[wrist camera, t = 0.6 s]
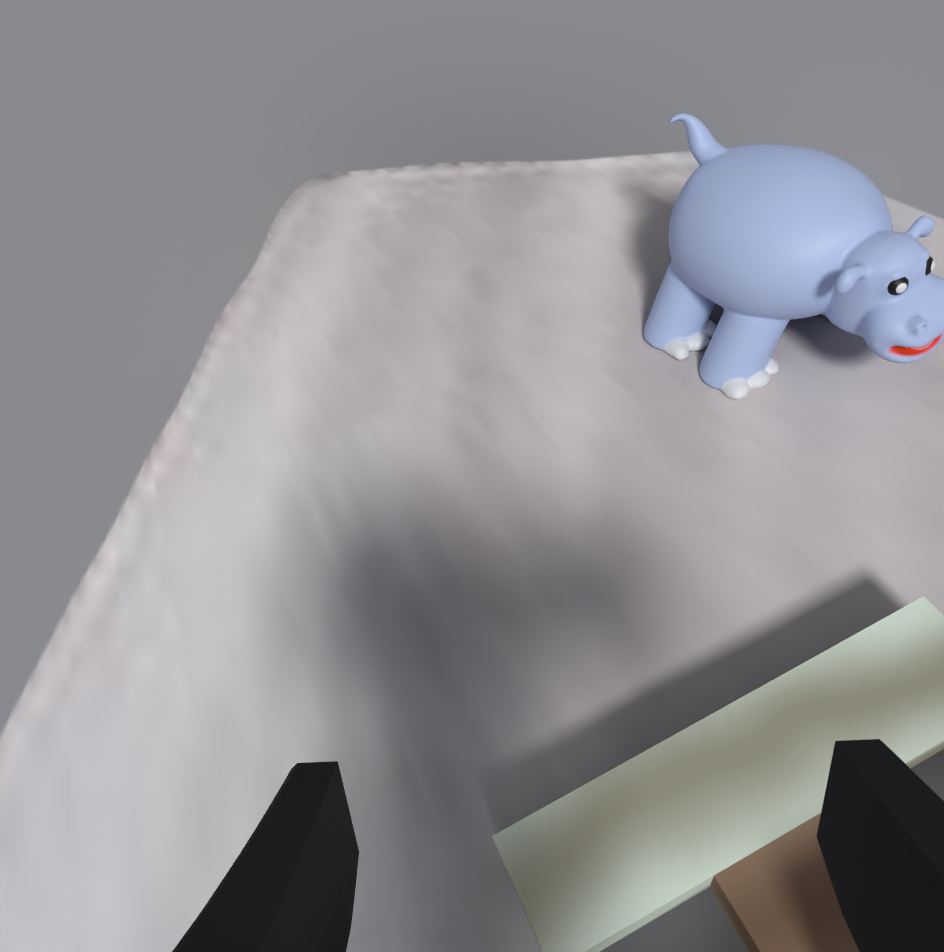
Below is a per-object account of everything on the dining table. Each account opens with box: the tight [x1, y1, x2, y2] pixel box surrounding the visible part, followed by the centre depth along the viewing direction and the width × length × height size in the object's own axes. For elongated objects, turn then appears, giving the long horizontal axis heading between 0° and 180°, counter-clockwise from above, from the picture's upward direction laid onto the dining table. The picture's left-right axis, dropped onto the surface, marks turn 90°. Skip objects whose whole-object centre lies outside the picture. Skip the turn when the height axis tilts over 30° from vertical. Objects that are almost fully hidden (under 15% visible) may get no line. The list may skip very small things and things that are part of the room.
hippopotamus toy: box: [643, 114, 944, 399], centre depth 35 cm, size 11×15×10 cm
